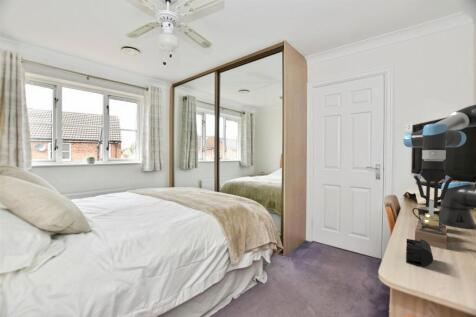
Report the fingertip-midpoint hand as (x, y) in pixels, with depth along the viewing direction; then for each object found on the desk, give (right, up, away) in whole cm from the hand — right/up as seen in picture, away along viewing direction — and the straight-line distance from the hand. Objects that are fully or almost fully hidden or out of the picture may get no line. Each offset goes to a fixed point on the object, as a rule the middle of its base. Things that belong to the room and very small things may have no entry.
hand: (431, 215), depth 96 cm
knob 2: (0, -5, 0) cm, 5 cm away
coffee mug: (+15, -12, +21) cm, 28 cm away
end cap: (-19, -13, -16) cm, 28 cm away
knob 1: (+7, -4, +8) cm, 12 cm away
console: (+4, -12, +5) cm, 13 cm away
